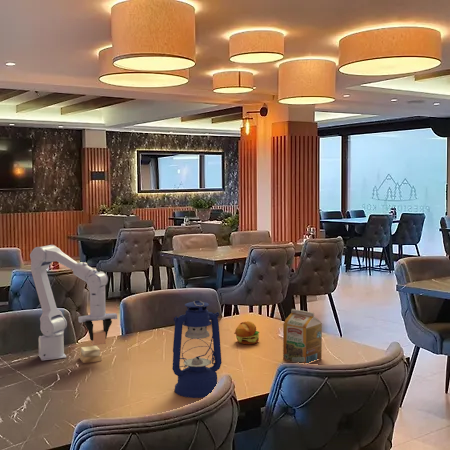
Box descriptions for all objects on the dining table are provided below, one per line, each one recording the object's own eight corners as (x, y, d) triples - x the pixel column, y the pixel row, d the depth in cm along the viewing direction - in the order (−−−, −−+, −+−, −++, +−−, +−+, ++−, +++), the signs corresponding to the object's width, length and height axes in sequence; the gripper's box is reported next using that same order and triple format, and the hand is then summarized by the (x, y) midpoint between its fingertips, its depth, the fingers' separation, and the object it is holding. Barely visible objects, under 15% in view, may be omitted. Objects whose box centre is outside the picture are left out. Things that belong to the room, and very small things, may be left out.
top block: (84, 357, 234) (84, 351, 234) (81, 353, 240) (80, 347, 240) (100, 355, 237) (99, 349, 237) (96, 351, 242) (96, 345, 242)
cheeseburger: (264, 340, 265) (262, 319, 262) (252, 352, 257) (250, 330, 254) (244, 336, 271) (242, 316, 268) (232, 348, 262) (229, 327, 259)
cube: (93, 345, 232) (93, 333, 232) (91, 342, 236) (91, 330, 236) (105, 343, 234) (105, 332, 234) (102, 340, 238) (102, 329, 238)
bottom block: (83, 364, 234) (83, 358, 234) (79, 359, 240) (79, 353, 240) (101, 362, 237) (101, 355, 237) (97, 357, 243) (97, 351, 243)
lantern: (180, 401, 194) (179, 307, 191) (165, 386, 208) (164, 298, 205) (230, 393, 200) (230, 302, 198) (212, 379, 214) (212, 294, 212)
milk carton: (283, 359, 238) (283, 311, 236) (299, 353, 245) (299, 306, 244) (305, 365, 231) (305, 315, 229) (321, 358, 238) (321, 310, 237)
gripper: (80, 307, 227) (81, 343, 229) (119, 304, 234) (119, 339, 235) (77, 304, 234) (77, 339, 235) (114, 301, 240) (114, 335, 241)
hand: (98, 339), depth 235 cm, fingers closed on cube, 4 cm apart
